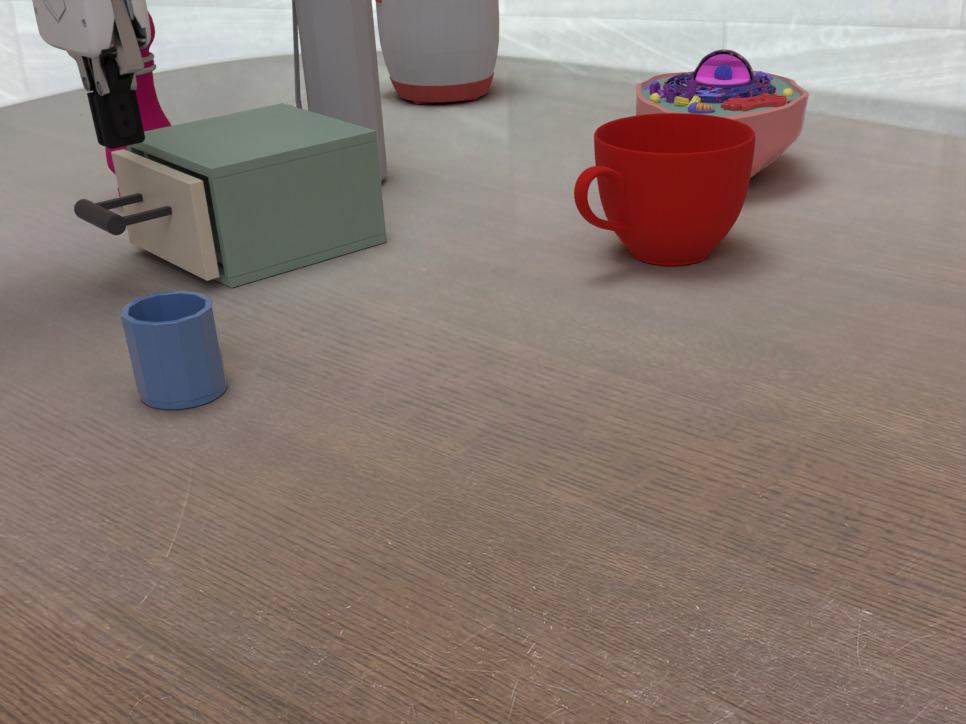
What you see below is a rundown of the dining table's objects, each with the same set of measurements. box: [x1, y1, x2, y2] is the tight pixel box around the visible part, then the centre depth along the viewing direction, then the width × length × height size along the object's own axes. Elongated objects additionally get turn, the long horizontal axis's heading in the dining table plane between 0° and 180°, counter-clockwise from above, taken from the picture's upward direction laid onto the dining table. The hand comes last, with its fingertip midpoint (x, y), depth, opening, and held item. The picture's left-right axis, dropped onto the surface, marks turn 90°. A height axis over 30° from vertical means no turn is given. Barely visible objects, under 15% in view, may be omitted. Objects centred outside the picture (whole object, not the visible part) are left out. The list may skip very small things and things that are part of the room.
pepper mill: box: [104, 11, 173, 198], centre depth 112 cm, size 7×7×20 cm
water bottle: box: [291, 0, 388, 182], centre depth 115 cm, size 9×8×25 cm
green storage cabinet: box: [127, 102, 387, 289], centre depth 104 cm, size 16×15×10 cm
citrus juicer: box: [374, 0, 500, 105], centre depth 148 cm, size 16×17×20 cm
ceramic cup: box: [573, 113, 755, 267], centre depth 98 cm, size 13×17×10 cm
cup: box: [120, 290, 228, 410], centre depth 80 cm, size 6×6×6 cm
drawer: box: [73, 149, 223, 282], centre depth 101 cm, size 20×13×8 cm, turn 132°
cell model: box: [635, 48, 810, 179], centre depth 118 cm, size 17×20×11 cm
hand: (122, 143), depth 94 cm, fingers closed
